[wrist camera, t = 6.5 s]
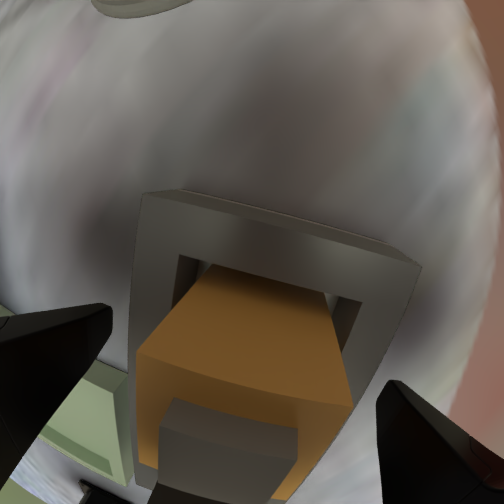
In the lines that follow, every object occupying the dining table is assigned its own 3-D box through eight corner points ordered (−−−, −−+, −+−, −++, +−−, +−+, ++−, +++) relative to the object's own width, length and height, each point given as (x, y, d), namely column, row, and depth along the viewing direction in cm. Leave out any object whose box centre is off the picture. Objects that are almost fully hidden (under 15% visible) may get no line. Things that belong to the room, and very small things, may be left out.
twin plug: (249, 469, 13) (230, 567, 7) (182, 451, 14) (144, 544, 7) (268, 431, 12) (250, 552, 6) (188, 410, 13) (138, 523, 6)
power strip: (273, 483, 14) (269, 519, 11) (152, 451, 15) (135, 484, 12) (389, 243, 10) (421, 266, 7) (180, 188, 11) (142, 193, 8)
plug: (291, 375, 11) (284, 523, 5) (197, 351, 12) (128, 482, 5) (323, 289, 10) (360, 437, 4) (214, 261, 11) (115, 376, 4)
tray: (134, 471, 16) (126, 487, 14) (27, 410, 17) (16, 421, 15) (128, 374, 13) (113, 393, 11) (-2, 303, 14) (-18, 312, 12)
